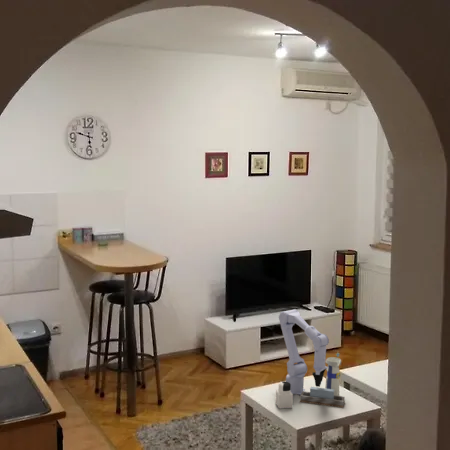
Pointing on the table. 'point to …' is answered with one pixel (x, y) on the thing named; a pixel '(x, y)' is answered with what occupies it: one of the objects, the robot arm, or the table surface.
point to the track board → (322, 400)
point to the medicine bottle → (284, 395)
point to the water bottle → (333, 374)
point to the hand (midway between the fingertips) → (318, 383)
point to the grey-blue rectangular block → (322, 393)
